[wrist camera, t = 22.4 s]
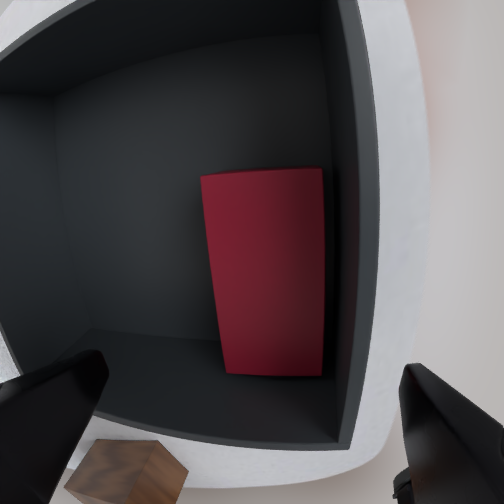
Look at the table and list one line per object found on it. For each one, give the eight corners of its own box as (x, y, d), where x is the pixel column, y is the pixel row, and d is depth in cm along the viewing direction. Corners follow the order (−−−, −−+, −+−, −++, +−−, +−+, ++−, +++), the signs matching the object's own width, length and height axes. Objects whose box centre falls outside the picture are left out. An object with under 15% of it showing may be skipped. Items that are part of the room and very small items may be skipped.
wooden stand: (157, 440, 26) (123, 505, 17) (189, 471, 27) (163, 532, 19) (96, 439, 29) (63, 487, 20) (125, 467, 30) (98, 514, 22)
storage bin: (339, 344, 19) (349, 450, 11) (92, 329, 22) (28, 389, 14) (327, 28, 13) (339, -62, 5) (54, 92, 17) (-37, 86, 9)
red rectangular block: (320, 334, 18) (322, 376, 14) (240, 334, 19) (225, 373, 15) (318, 164, 15) (323, 167, 11) (223, 170, 16) (199, 175, 12)
